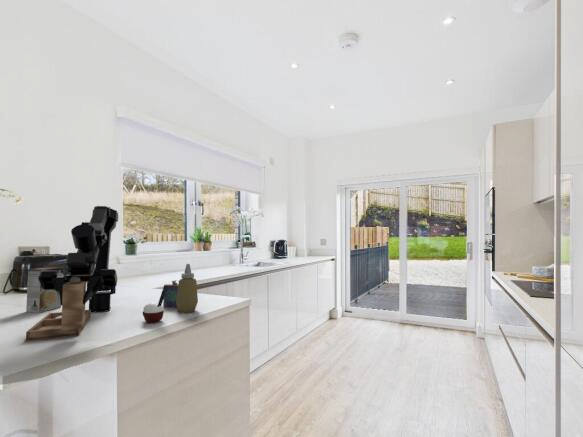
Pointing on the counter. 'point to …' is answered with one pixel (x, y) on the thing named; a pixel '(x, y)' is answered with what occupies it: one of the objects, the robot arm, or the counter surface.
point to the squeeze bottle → (187, 292)
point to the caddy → (53, 327)
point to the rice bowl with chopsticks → (154, 309)
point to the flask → (171, 295)
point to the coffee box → (41, 292)
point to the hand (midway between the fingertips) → (72, 303)
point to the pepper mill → (73, 304)
